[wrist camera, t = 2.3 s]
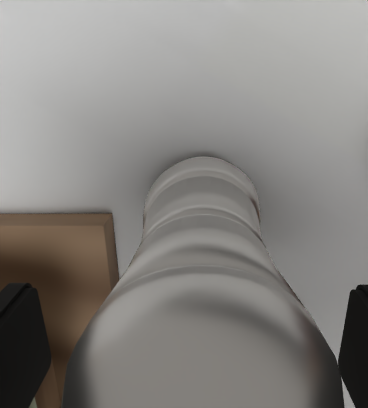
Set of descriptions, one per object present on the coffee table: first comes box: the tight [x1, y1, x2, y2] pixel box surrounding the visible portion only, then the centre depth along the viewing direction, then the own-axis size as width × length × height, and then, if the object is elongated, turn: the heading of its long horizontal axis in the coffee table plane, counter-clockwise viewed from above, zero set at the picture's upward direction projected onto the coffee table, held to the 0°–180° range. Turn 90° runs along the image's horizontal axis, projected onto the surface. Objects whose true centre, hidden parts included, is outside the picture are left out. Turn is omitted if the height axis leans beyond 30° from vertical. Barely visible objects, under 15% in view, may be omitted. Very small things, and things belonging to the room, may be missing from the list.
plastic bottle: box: [61, 157, 344, 408], centre depth 12 cm, size 6×7×20 cm
